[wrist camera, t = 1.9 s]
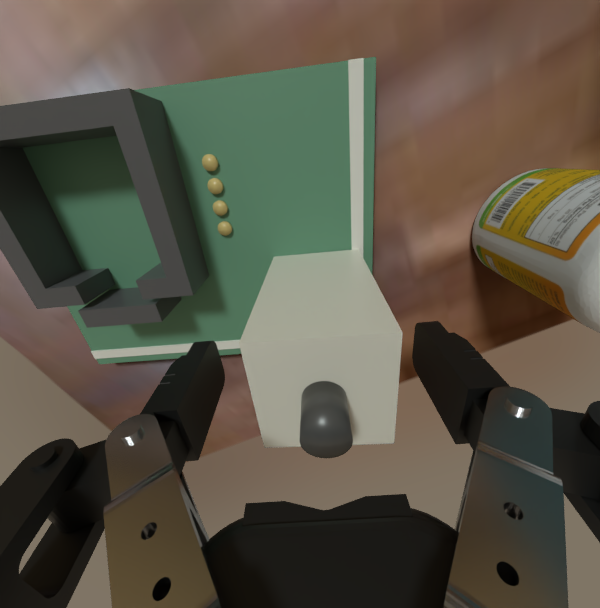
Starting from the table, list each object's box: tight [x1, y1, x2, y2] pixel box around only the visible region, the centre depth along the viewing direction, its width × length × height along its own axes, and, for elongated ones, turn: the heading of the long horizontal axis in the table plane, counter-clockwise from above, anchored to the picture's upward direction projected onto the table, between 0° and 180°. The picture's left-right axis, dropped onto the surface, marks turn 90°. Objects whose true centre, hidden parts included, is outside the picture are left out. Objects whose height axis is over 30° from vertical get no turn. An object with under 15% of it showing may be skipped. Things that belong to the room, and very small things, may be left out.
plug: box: [239, 249, 402, 458], centre depth 12 cm, size 4×6×10 cm
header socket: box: [0, 88, 232, 328], centre depth 13 cm, size 10×9×2 cm
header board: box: [23, 57, 376, 364], centre depth 15 cm, size 18×14×1 cm
